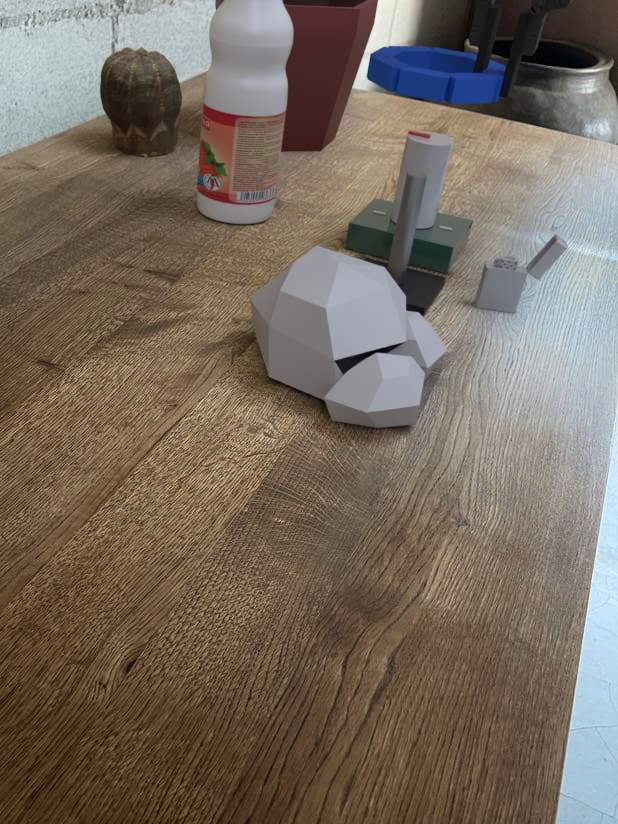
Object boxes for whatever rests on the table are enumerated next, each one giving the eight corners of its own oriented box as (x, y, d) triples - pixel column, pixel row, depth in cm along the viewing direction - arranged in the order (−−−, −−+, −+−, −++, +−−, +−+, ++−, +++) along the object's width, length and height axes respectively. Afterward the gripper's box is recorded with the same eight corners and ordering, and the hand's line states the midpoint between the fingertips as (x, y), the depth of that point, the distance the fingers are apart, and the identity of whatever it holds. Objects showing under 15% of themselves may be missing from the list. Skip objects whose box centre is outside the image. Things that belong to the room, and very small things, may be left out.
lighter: (475, 307, 95) (496, 231, 90) (474, 300, 96) (495, 224, 91) (544, 317, 94) (570, 241, 89) (542, 310, 96) (567, 235, 90)
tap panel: (466, 245, 108) (473, 218, 106) (447, 273, 101) (454, 245, 99) (369, 222, 112) (374, 196, 110) (344, 248, 104) (348, 221, 102)
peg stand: (444, 286, 98) (473, 171, 91) (423, 317, 92) (452, 196, 84) (364, 266, 101) (385, 152, 93) (338, 295, 94) (359, 176, 87)
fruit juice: (266, 231, 107) (300, -54, 89) (187, 218, 108) (205, -65, 90) (278, 204, 114) (312, -64, 96) (204, 193, 115) (224, -74, 97)
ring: (512, 85, 87) (518, 62, 85) (487, 111, 78) (493, 86, 77) (390, 62, 90) (395, 39, 89) (352, 85, 81) (357, 60, 80)
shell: (104, 131, 132) (105, 38, 124) (181, 138, 132) (186, 46, 124) (95, 155, 123) (94, 56, 116) (176, 162, 123) (181, 64, 116)
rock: (442, 344, 88) (468, 245, 81) (439, 456, 72) (471, 345, 66) (255, 313, 90) (266, 214, 83) (213, 416, 74) (223, 305, 68)
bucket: (286, 106, 150) (308, -76, 134) (391, 144, 138) (429, -52, 123) (172, 126, 136) (182, -75, 121) (278, 169, 125) (304, -48, 109)
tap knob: (438, 219, 106) (459, 134, 100) (428, 232, 102) (448, 145, 96) (397, 209, 107) (414, 125, 101) (385, 222, 103) (402, 135, 97)
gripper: (466, -268, 67) (398, 83, 82) (683, -251, 63) (570, 116, 77) (487, -260, 72) (420, 68, 87) (687, -243, 68) (581, 98, 83)
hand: (490, 90), depth 82 cm, fingers closed on ring, 2 cm apart
